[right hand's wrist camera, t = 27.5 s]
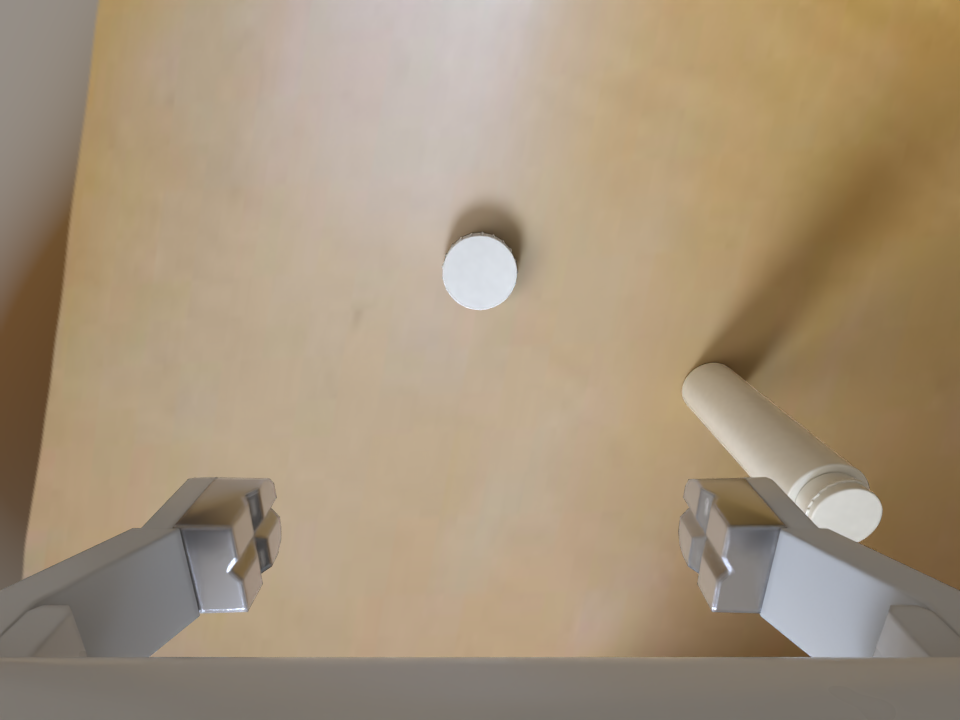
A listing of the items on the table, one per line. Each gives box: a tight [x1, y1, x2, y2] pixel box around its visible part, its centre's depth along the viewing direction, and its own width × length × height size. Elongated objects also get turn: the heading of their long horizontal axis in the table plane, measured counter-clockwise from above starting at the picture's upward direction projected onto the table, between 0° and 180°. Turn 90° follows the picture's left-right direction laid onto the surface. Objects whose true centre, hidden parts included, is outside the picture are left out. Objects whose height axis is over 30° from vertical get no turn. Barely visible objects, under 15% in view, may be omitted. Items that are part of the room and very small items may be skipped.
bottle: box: [682, 363, 882, 542], centre depth 31 cm, size 4×4×15 cm
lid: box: [442, 232, 518, 310], centre depth 34 cm, size 5×5×2 cm
